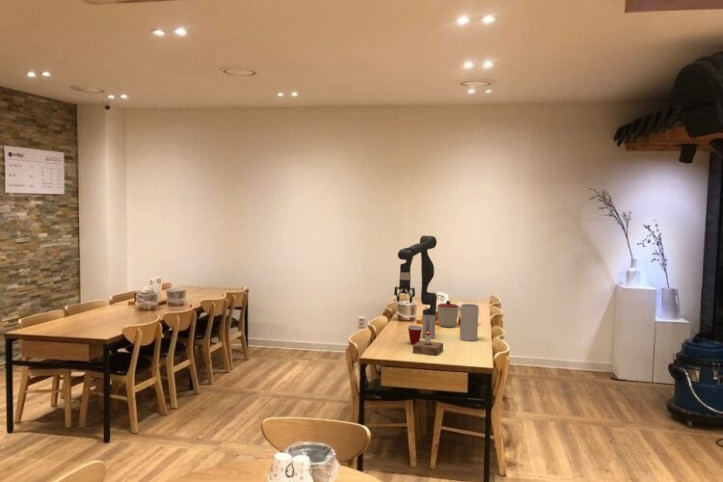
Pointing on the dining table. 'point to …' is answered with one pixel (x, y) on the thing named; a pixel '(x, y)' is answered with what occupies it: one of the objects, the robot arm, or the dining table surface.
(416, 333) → the plastic cup
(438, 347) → the block
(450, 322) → the canister
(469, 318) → the cylinder vase
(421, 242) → the robot arm
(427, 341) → the lynch pin
